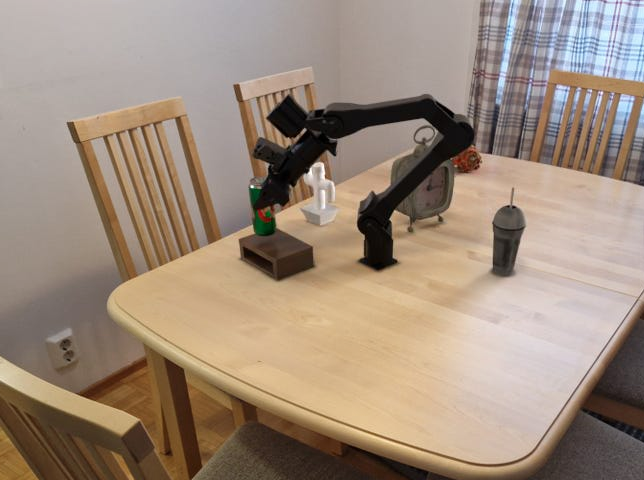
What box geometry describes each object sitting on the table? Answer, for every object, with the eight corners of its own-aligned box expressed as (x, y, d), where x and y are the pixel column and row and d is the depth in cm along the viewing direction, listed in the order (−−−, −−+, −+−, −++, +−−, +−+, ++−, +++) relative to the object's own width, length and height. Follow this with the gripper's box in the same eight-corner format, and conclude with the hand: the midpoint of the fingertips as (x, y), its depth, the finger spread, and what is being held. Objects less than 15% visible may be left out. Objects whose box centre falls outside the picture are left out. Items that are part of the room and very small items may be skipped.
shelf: (313, 266, 145) (313, 246, 142) (277, 280, 139) (276, 259, 136) (276, 246, 153) (275, 227, 150) (240, 259, 147) (238, 238, 144)
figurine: (323, 230, 161) (321, 171, 153) (297, 220, 166) (293, 162, 158) (343, 222, 166) (342, 164, 158) (317, 212, 171) (314, 156, 162)
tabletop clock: (409, 237, 160) (414, 134, 146) (386, 225, 165) (388, 125, 151) (450, 223, 168) (459, 124, 154) (427, 212, 174) (432, 116, 159)
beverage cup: (521, 267, 148) (534, 183, 137) (515, 281, 143) (528, 194, 131) (490, 262, 150) (500, 178, 139) (483, 275, 144) (493, 189, 133)
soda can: (257, 227, 145) (251, 175, 139) (279, 228, 145) (274, 176, 138) (251, 236, 141) (244, 183, 134) (273, 238, 141) (268, 184, 134)
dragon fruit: (478, 181, 200) (449, 176, 207) (492, 160, 201) (463, 156, 209) (467, 161, 193) (438, 158, 201) (482, 140, 195) (452, 137, 203)
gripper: (279, 113, 138) (234, 164, 144) (266, 139, 122) (216, 194, 128) (318, 151, 142) (273, 198, 148) (310, 180, 127) (260, 231, 133)
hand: (256, 204), depth 140 cm, fingers closed on soda can, 5 cm apart
